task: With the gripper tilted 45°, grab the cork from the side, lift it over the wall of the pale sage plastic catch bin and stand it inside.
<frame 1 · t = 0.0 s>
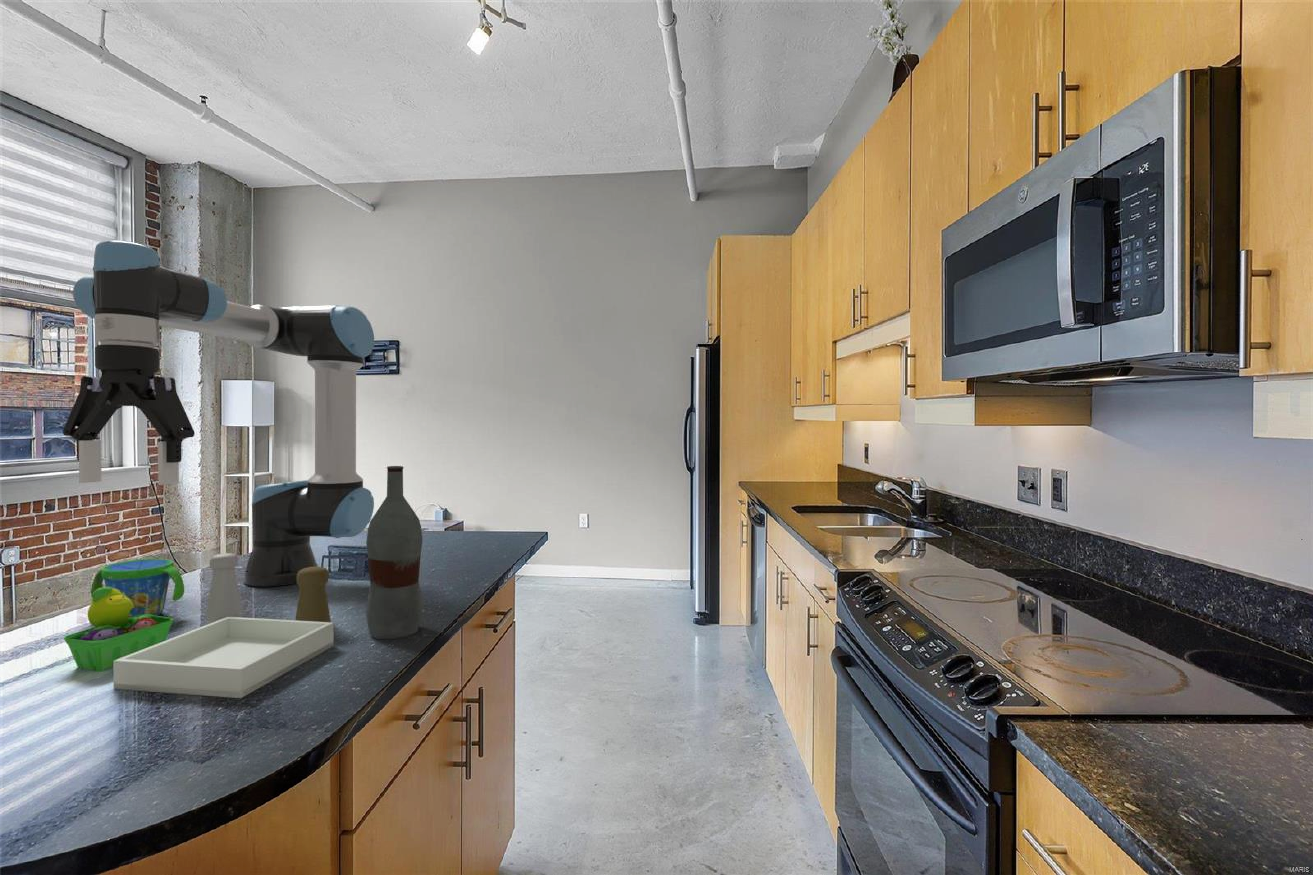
hand: (129, 483, 94), 28 cm above the countertop, tool pointing down, fingers open, 13 cm apart
salt shaker: (224, 625, 113), on the countertop
bottle: (394, 632, 110), on the countertop
fruit basket: (118, 659, 96), on the countertop
catch bin: (233, 665, 94), on the countertop
snack cup: (138, 618, 116), on the countertop
cork: (312, 628, 112), on the countertop
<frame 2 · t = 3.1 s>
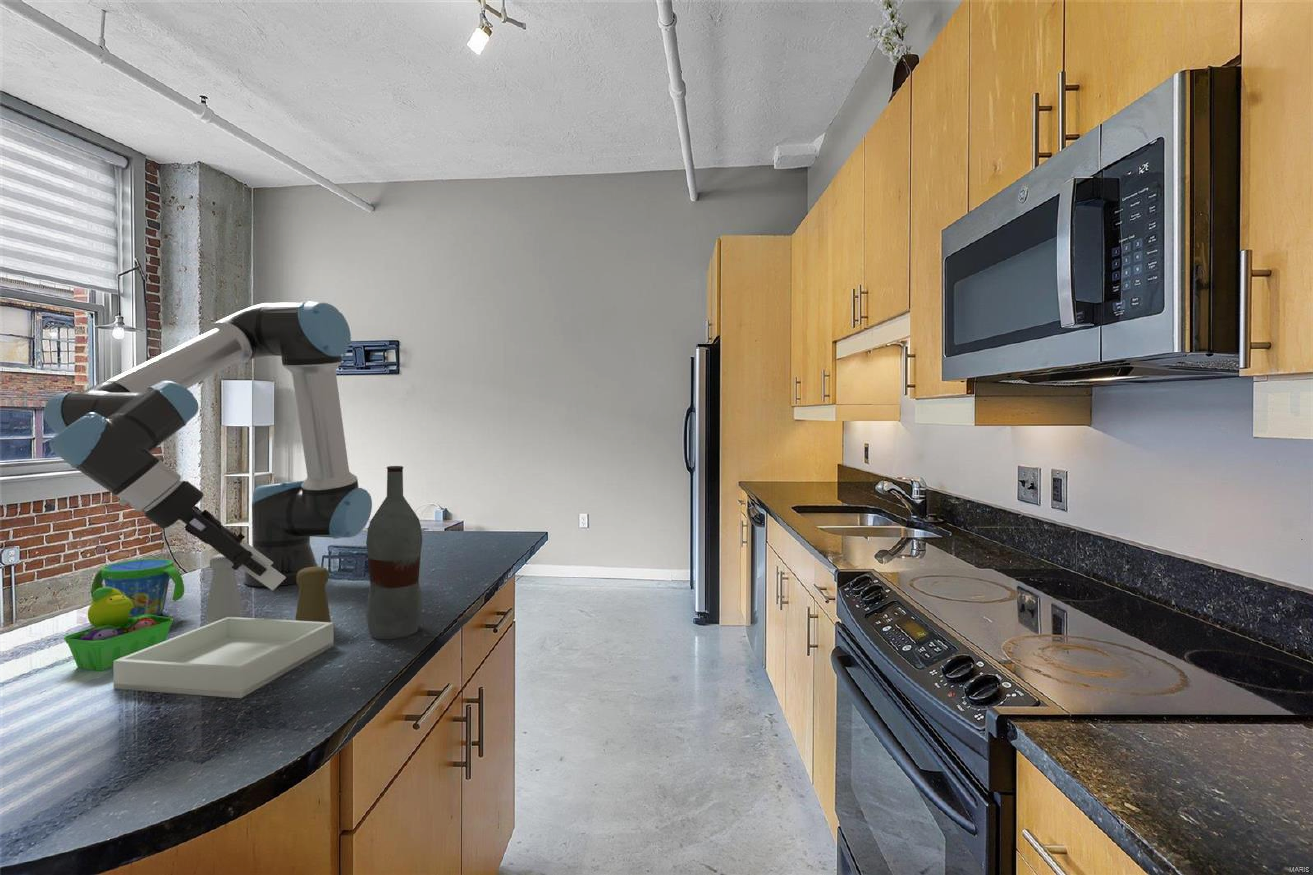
hand: (273, 575, 107), 11 cm above the countertop, tool tilted 45°, fingers open, 13 cm apart
nothing on the countertop moved.
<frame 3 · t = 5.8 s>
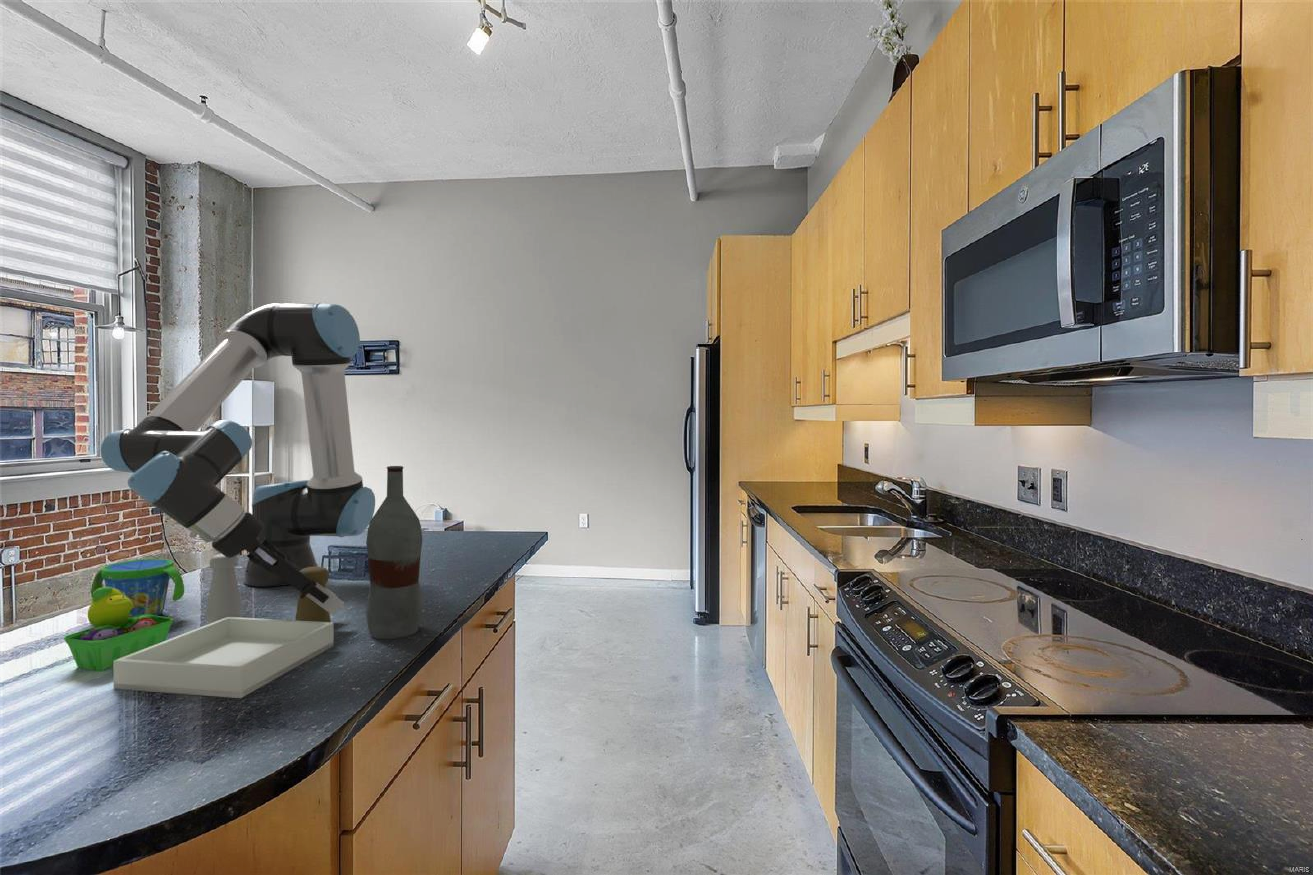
hand: (334, 605, 114), 3 cm above the countertop, tool tilted 45°, fingers closed on cork, 5 cm apart
cork: (312, 628, 112), on the countertop, touching gripper
everything else where it was.
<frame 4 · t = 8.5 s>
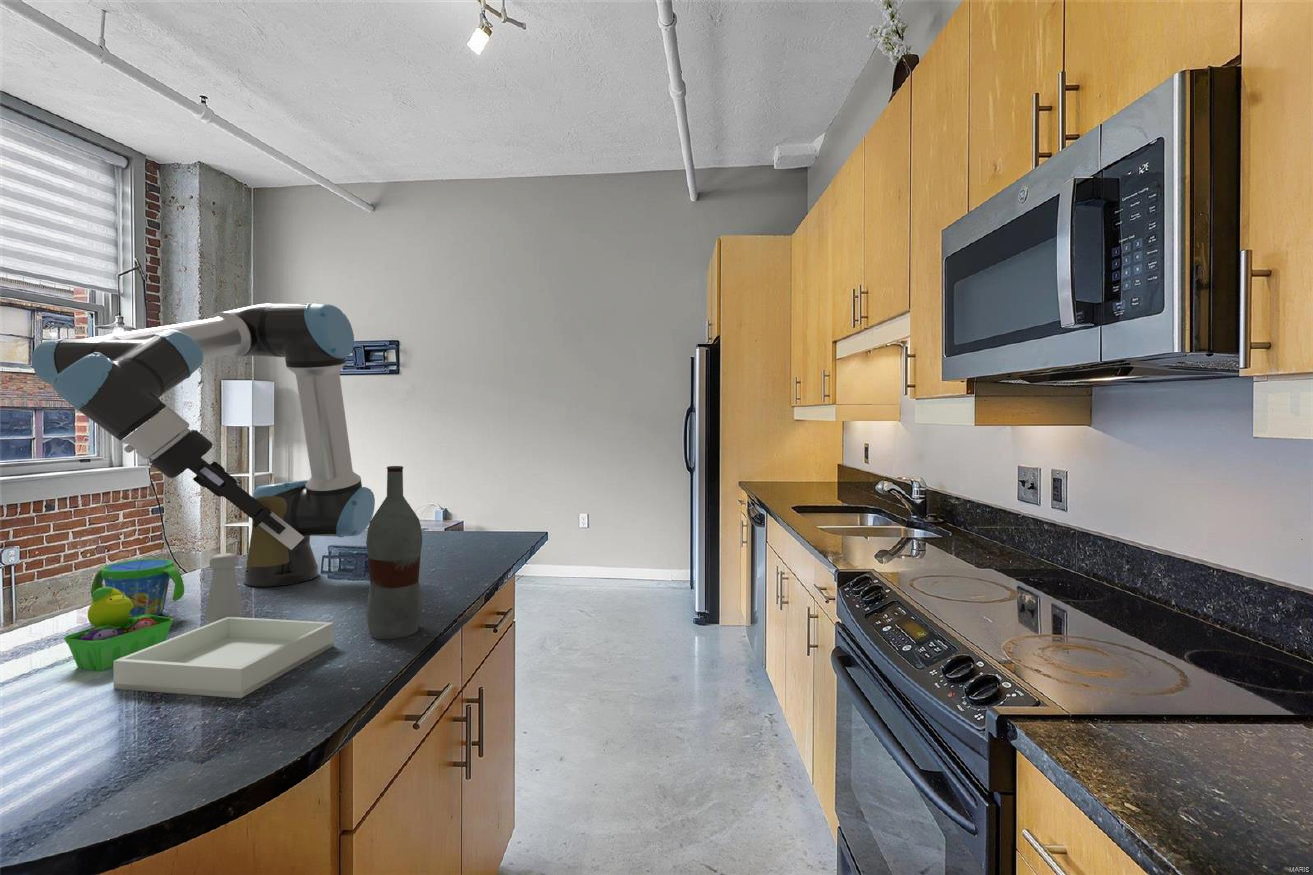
hand: (293, 540, 103), 18 cm above the countertop, tool tilted 45°, fingers closed on cork, 5 cm apart
cork: (268, 564, 100), point 14 cm above the countertop, touching gripper
everything else where it was.
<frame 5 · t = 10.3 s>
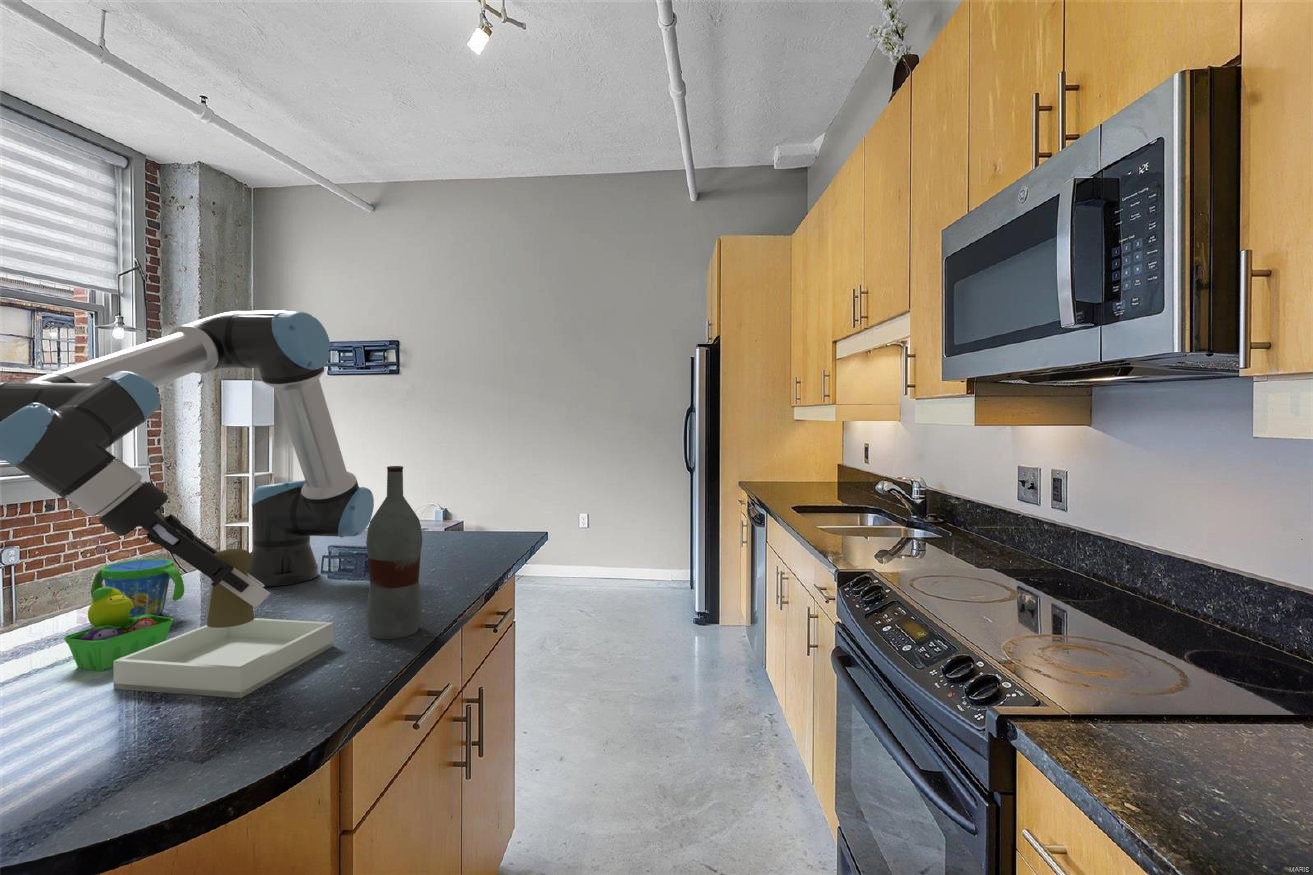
hand: (259, 595, 95), 10 cm above the countertop, tool tilted 45°, fingers closed on cork, 5 cm apart
cork: (231, 622, 93), point 7 cm above the countertop, touching gripper
everything else where it was.
when the fingers open (5 cm above the countertop, at t = 11.5 s): cork drops 1 cm, resting on catch bin.
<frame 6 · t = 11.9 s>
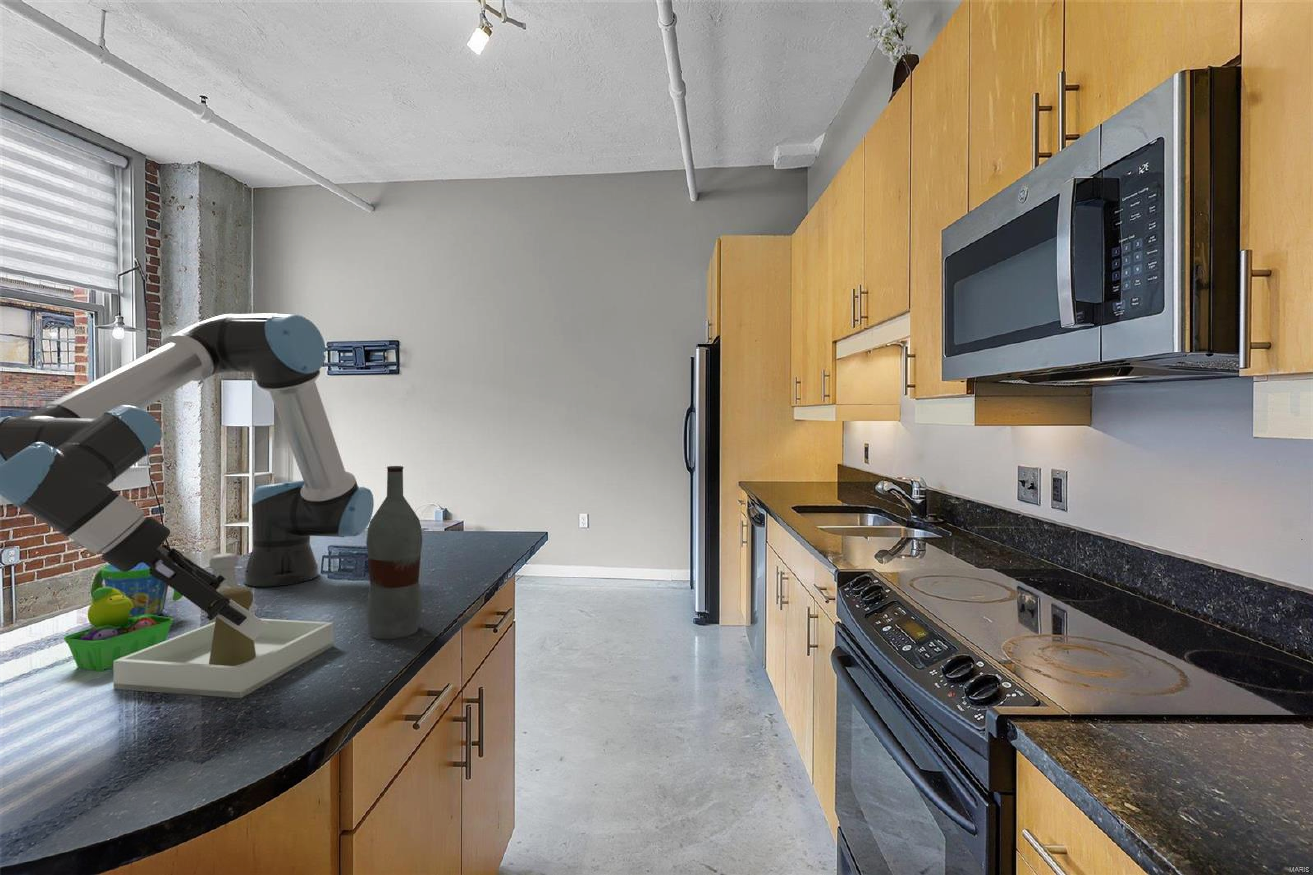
hand: (255, 622, 95), 6 cm above the countertop, tool tilted 45°, fingers open, 11 cm apart
cork: (232, 660, 94), point 1 cm above the countertop, touching catch bin
everything else where it was.
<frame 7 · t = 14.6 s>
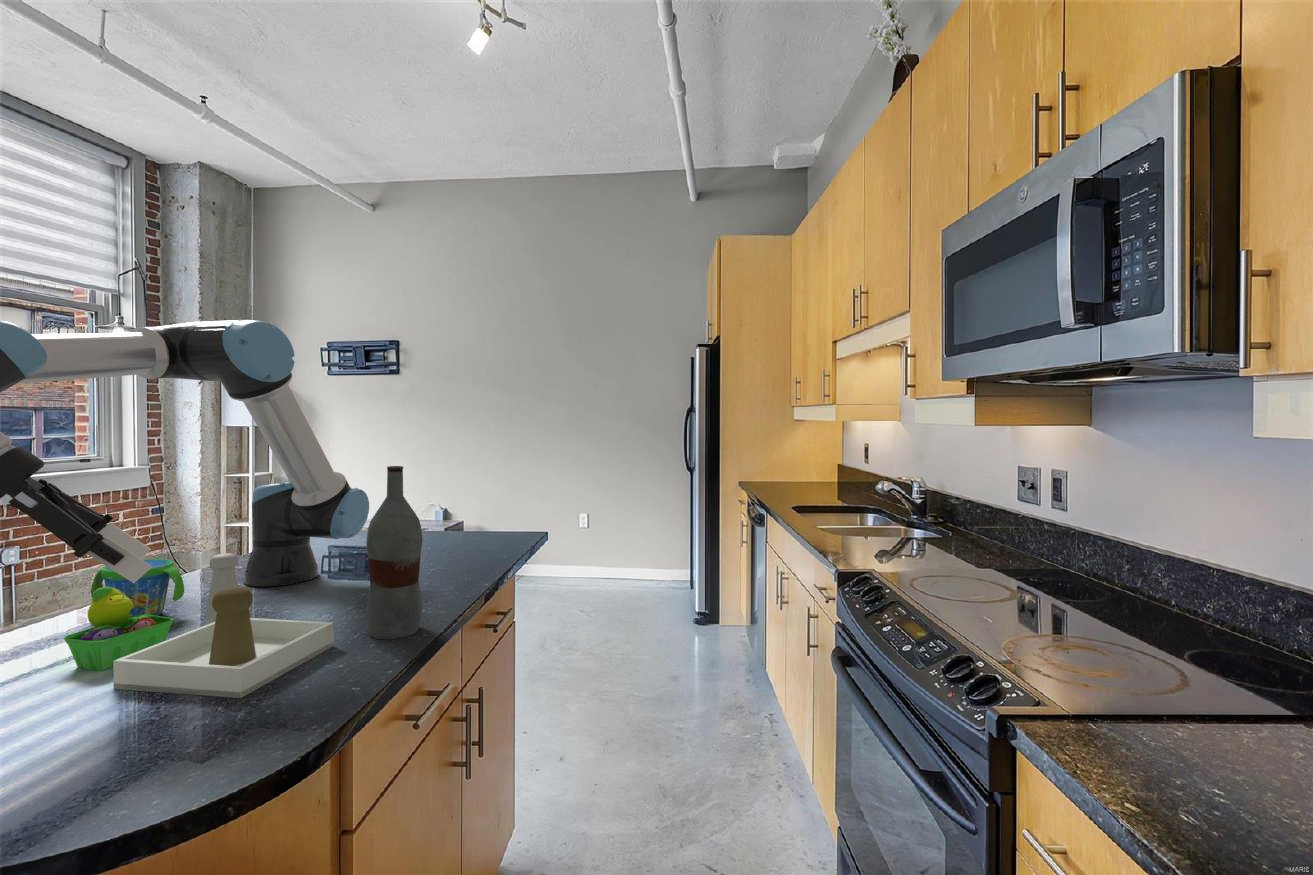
hand: (143, 565, 87), 17 cm above the countertop, tool tilted 45°, fingers open, 13 cm apart
nothing on the countertop moved.
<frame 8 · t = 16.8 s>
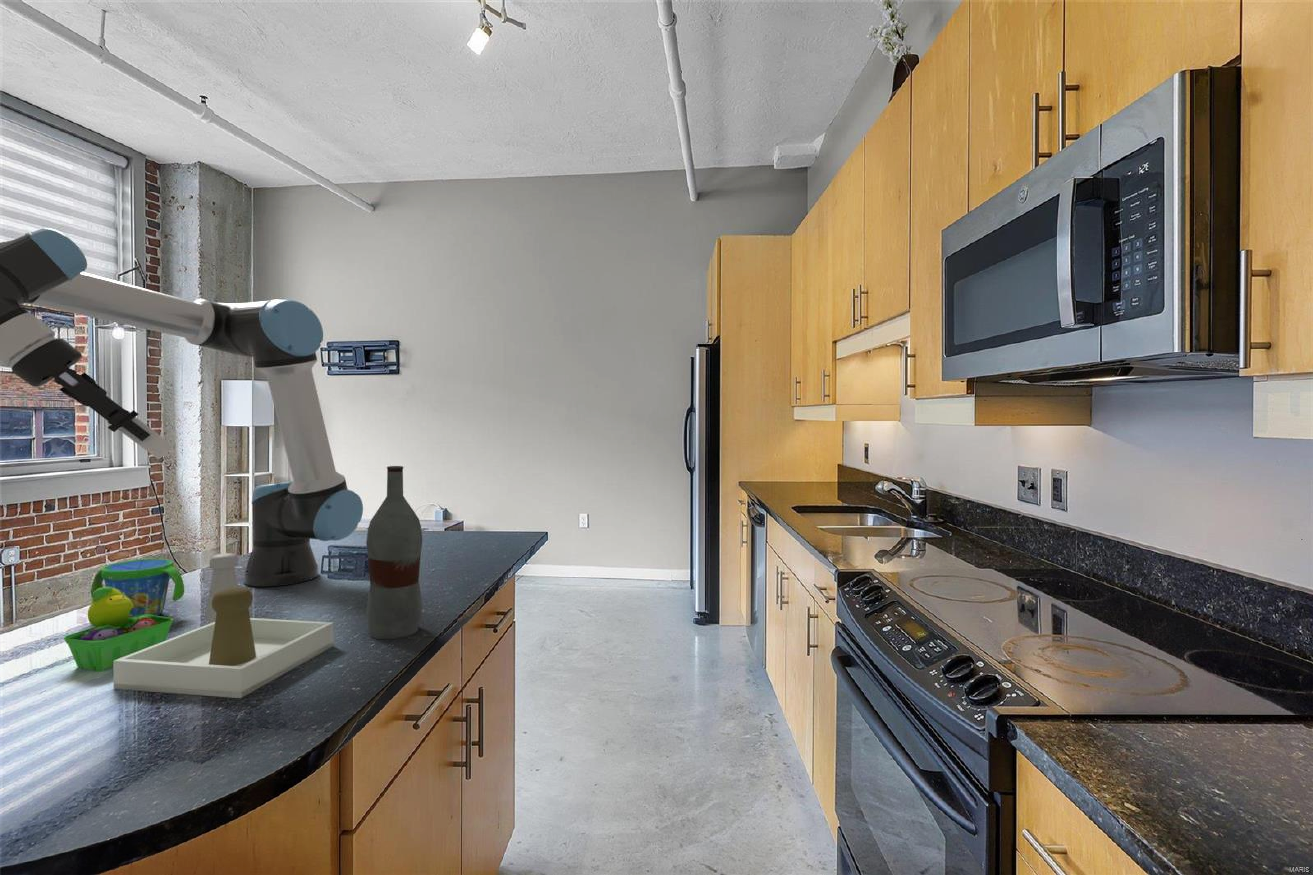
hand: (165, 451, 100), 33 cm above the countertop, tool tilted 45°, fingers open, 13 cm apart
nothing on the countertop moved.
at the end: cork inside the target area on the catch bin (0.5 cm from its centre), point 0.6 cm above the catch bin's base; cork tilted 0°; the gripper is holding nothing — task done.
